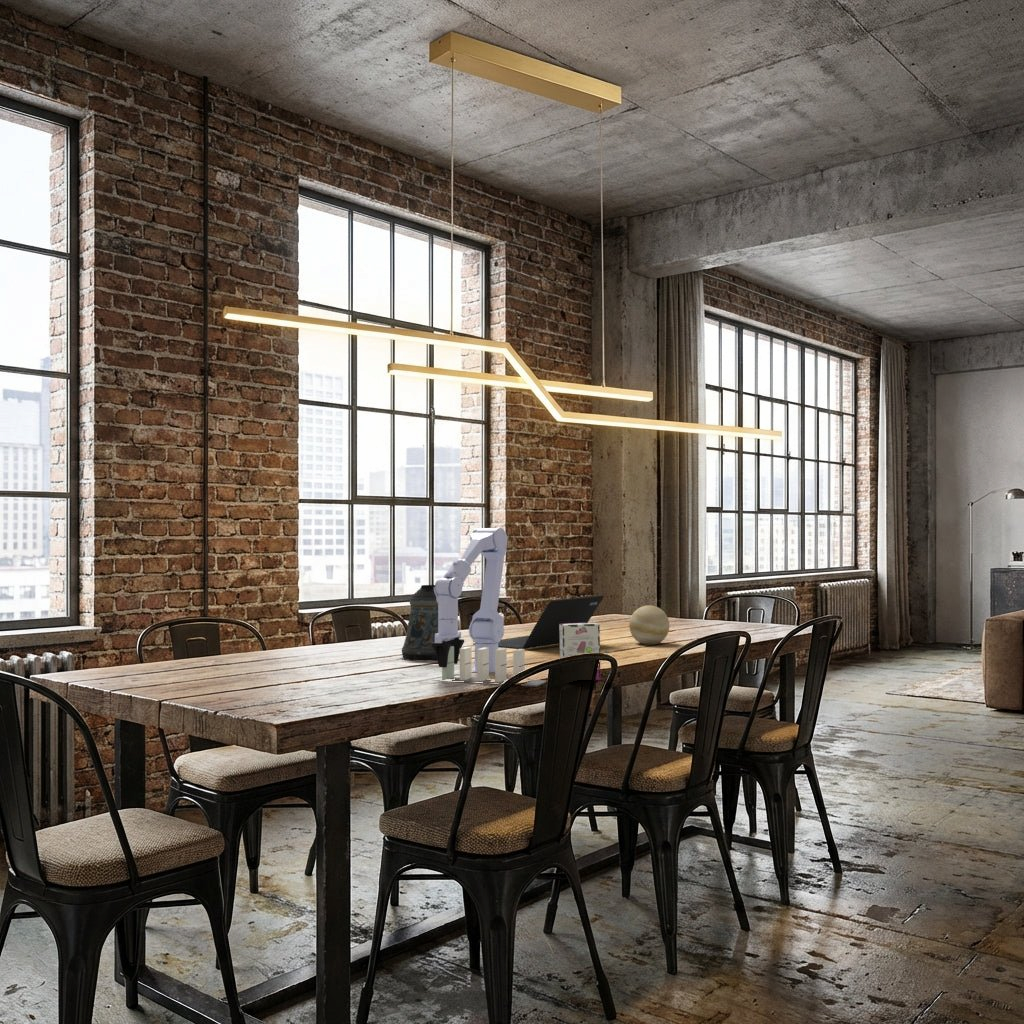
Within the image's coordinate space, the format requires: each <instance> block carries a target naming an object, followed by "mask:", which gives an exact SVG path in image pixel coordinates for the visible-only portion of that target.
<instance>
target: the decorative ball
mask: <svg viewBox="0 0 1024 1024" xmlns="http://www.w3.org/2000/svg"><path fill="white" fill-rule="evenodd" d="M628 626H629V632H630V634H631V636H632V637H633V638H634V640H635V641H636V642H638V643H639V644H640V645H648V646H649V645H650V646H651V645H652V646H653V645H658V644H660V643H662V642H663V641H664V640H665V639H666V638H667V636H668V634H669V631H670V620H669V617H668V615H667V614H666V613H665V611H664V610H663V609H661V607H658V606H656V605H655V606H654V605H651V604H650V605H642V606H641V607H640V606H639V608H637V609H636V610H635V611H633V613H632V615H631V616H630V619H629V625H628Z"/></svg>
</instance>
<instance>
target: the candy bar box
mask: <svg viewBox="0 0 1024 1024" xmlns="http://www.w3.org/2000/svg"><path fill="white" fill-rule="evenodd" d="M600 627H601V626H600V623H599V622H588V623H571V624H559V630H560V644H559V659H560V658H562V657H568V656H574V655H580V654H589V653H600V654H601V635H600V633H601V632H600V631H601V630H600ZM595 681H601V661H600V662H599V666H598V673H597V678H596V680H595Z"/></svg>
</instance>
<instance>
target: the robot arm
mask: <svg viewBox="0 0 1024 1024" xmlns="http://www.w3.org/2000/svg"><path fill="white" fill-rule="evenodd" d="M508 538H509V537H508V535H507V533H506V530H505V529H504V528H503V527H487V528H486V527H485V528H484V527H483V528H481V527H475V528H474V529H473V531H472V532H471V534H470V535H469V540H470V542H469V544H468V546H467V547H466V549H465V551H464V553H463V555H462V556H461V557H460V559H455V560H453V562H452V564H451V566H450V567H449V568H448V570H447V572H446V573H445V574H444V576H443V577H441V578H438V580H436V581H435V583H434V585H435V587H434V592H435V595H436V600H437V603H438V633H436V634H435V642H433V643H432V647H433V649H434V651H435V653H436V656H437V660H436V661H437V664H438V667H439V668H442V667H447V662H448V654H449V650H450V647H451V646H454V665H458V662H459V659H460V648H463V645H464V643H465V639H464V638H462V631H459V600H458V599H459V597H460V596H461V595H462V592H463V587H464V582H465V581H466V579H467V578H468V576H469V575H470V574H471V572H472V567H471V566H472V564H473V563H474V562H475V561H476V559H478V557H479V555H482V556H483V557H484V558H485V560H486V563H485V571H484V576H483V577H484V578H483V585H482V594H481V598H480V600H481V601H480V606H479V607H480V608H479V610H477V611H476V612H475V613H474V614H473V615H472V618H471V622H470V623H469V624H470V625H469V627H468V634H469V637H470V638H471V640H472V642H473V643H475V645H474V666H473V667H472V670H473V673H477V649H480V648H484V647H485V648H489V673H495V650H497V649H499V647H498V642H500V640H502V639H503V637H504V633H505V627H504V620H505V619H504V617H503V616H502V615H501V614H500V613H499V612H498V606H499V600H500V594H501V593H500V592H501V585H502V577H503V570H504V561H505V556H506V554H507V546H508V541H509V539H508Z"/></svg>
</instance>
